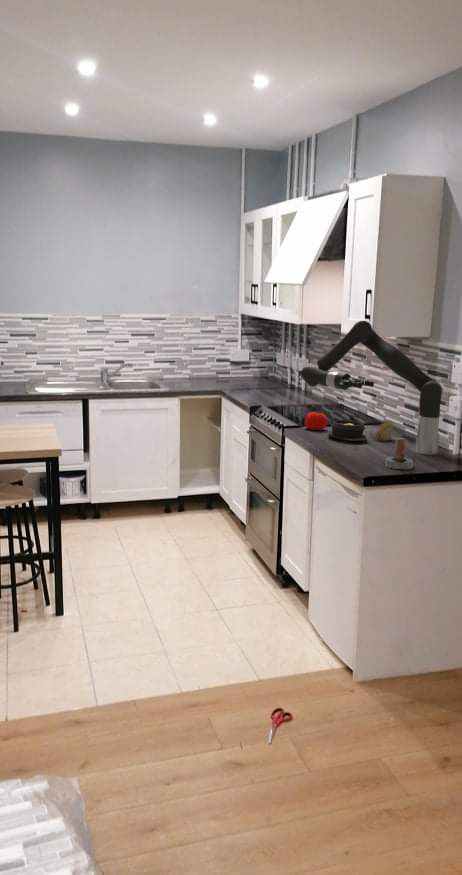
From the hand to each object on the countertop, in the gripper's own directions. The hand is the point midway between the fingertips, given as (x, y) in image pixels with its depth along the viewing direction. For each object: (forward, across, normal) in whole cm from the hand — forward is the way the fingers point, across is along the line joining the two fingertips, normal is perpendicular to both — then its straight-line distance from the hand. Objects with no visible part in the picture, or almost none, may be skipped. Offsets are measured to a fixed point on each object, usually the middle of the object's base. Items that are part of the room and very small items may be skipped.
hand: (367, 385), depth 328 cm
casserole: (-28, +25, +32) cm, 50 cm away
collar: (+21, -3, +32) cm, 39 cm away
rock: (-17, +40, +32) cm, 54 cm away
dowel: (+21, -3, +32) cm, 38 cm away
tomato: (-53, +31, +32) cm, 69 cm away
